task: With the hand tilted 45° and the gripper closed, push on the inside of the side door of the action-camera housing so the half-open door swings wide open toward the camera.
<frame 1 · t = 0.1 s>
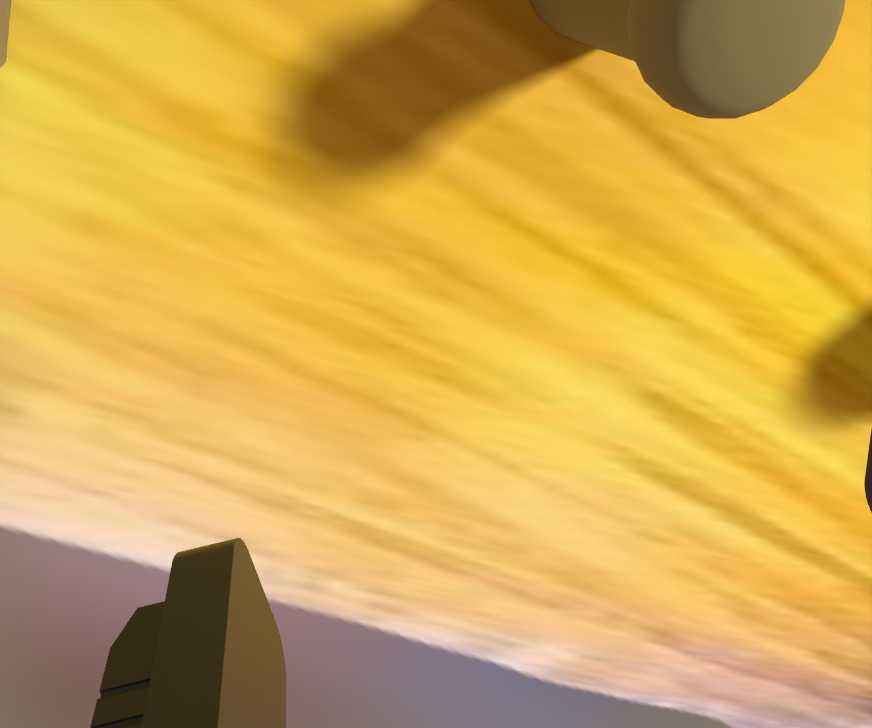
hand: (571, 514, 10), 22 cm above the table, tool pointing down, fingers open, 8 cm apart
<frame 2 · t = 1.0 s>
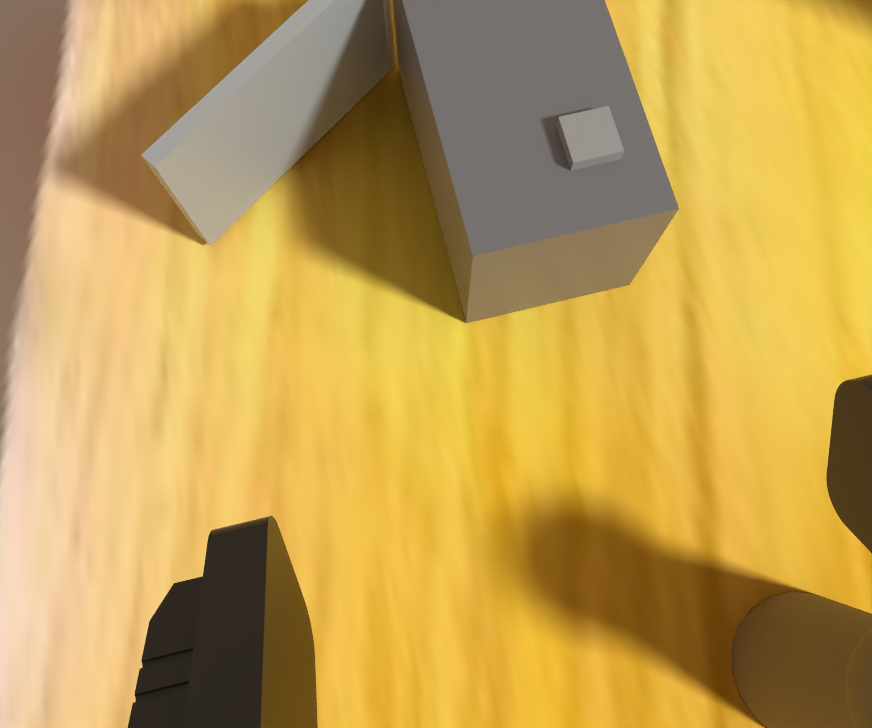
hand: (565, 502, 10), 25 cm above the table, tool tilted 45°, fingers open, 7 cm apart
camera housing: (509, 173, 39), on the table
cork: (802, 665, 33), on the table
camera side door: (282, 98, 35), point 4 cm above the table, hinge at 55.0°
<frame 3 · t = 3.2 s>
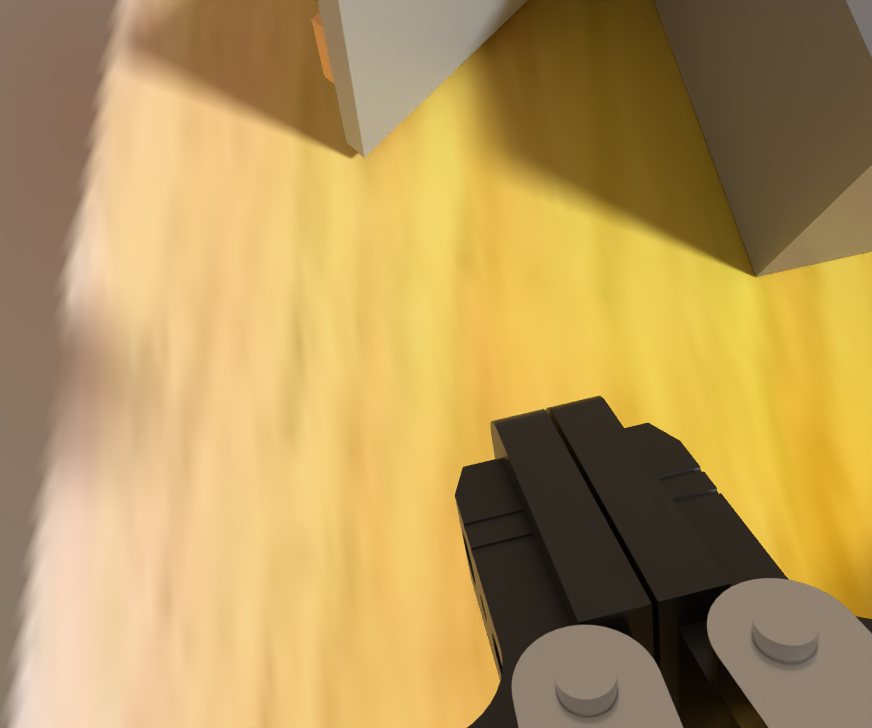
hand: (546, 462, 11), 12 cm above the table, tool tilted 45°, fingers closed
camera housing: (799, 62, 26), on the table
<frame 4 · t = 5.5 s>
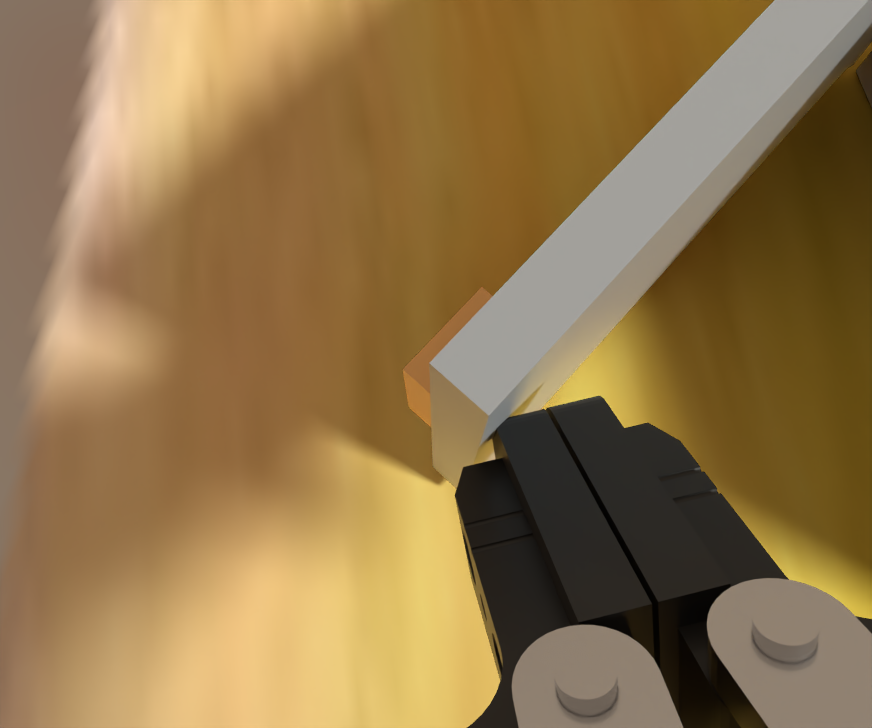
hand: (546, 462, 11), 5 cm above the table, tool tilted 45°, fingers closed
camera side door: (713, 134, 13), point 4 cm above the table, hinge at 55.4°, touching gripper
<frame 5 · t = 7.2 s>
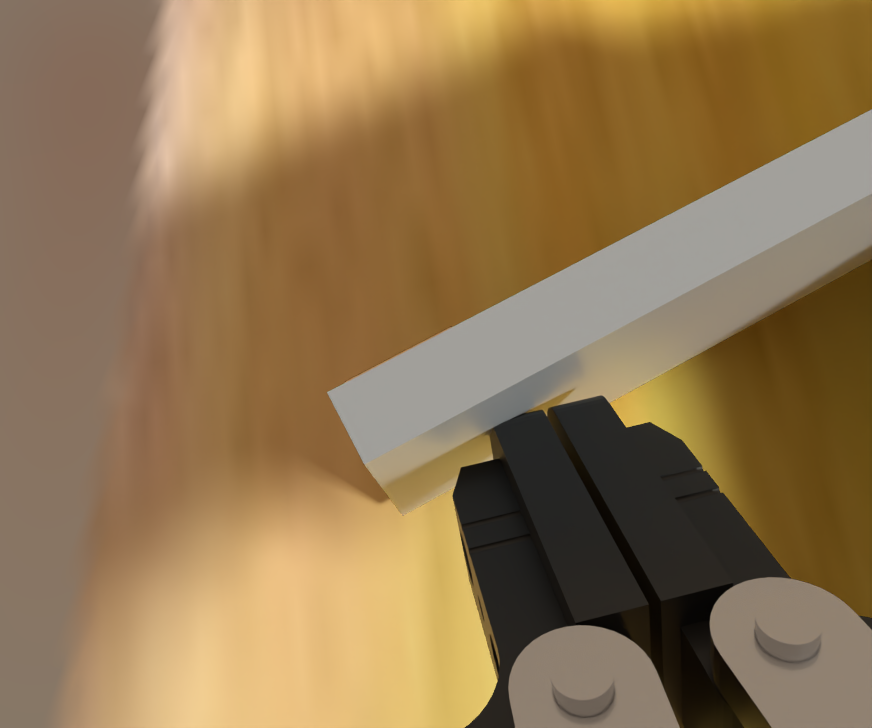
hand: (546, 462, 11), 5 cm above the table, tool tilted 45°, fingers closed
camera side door: (757, 245, 12), point 4 cm above the table, hinge at 74.1°, touching gripper
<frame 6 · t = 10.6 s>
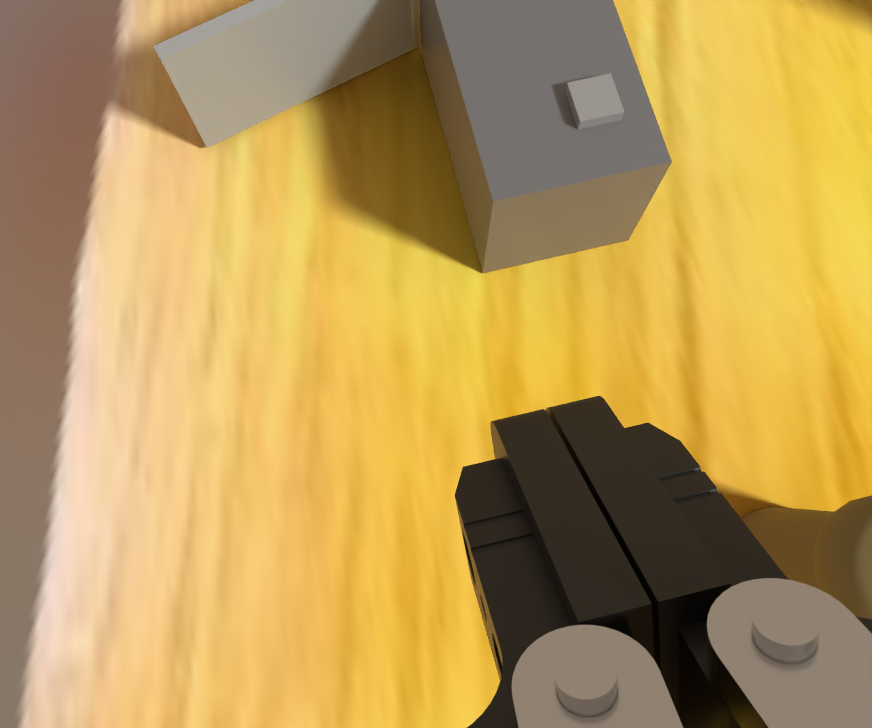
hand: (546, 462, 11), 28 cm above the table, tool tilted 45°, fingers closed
camera housing: (520, 142, 43), on the table
cork: (781, 571, 37), on the table
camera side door: (299, 40, 40), point 4 cm above the table, hinge at 74.4°
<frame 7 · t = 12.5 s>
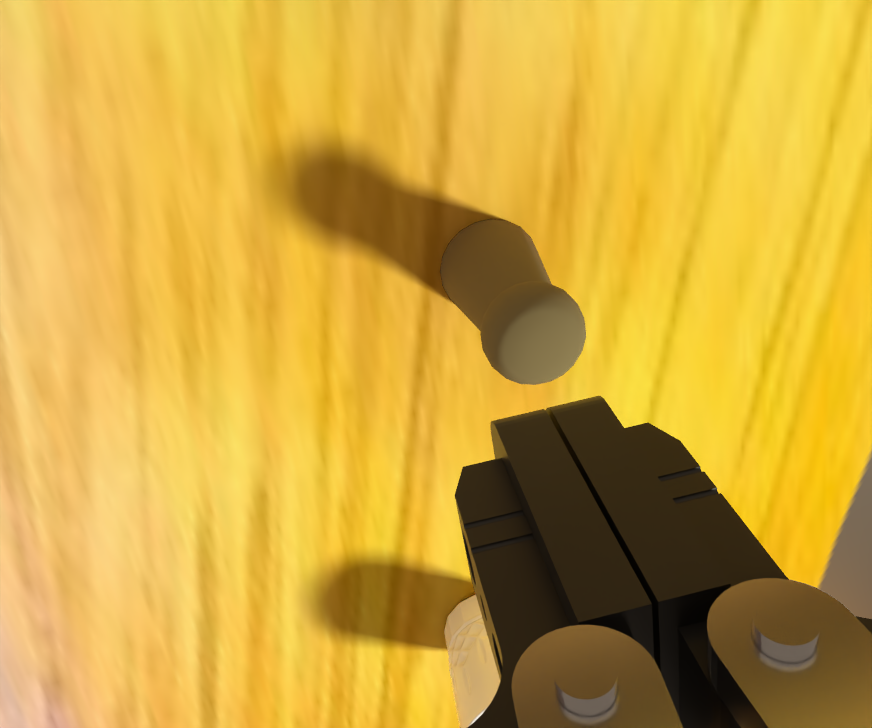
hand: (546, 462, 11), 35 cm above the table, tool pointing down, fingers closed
white cup: (485, 620, 61), on the table
cork: (488, 266, 47), on the table
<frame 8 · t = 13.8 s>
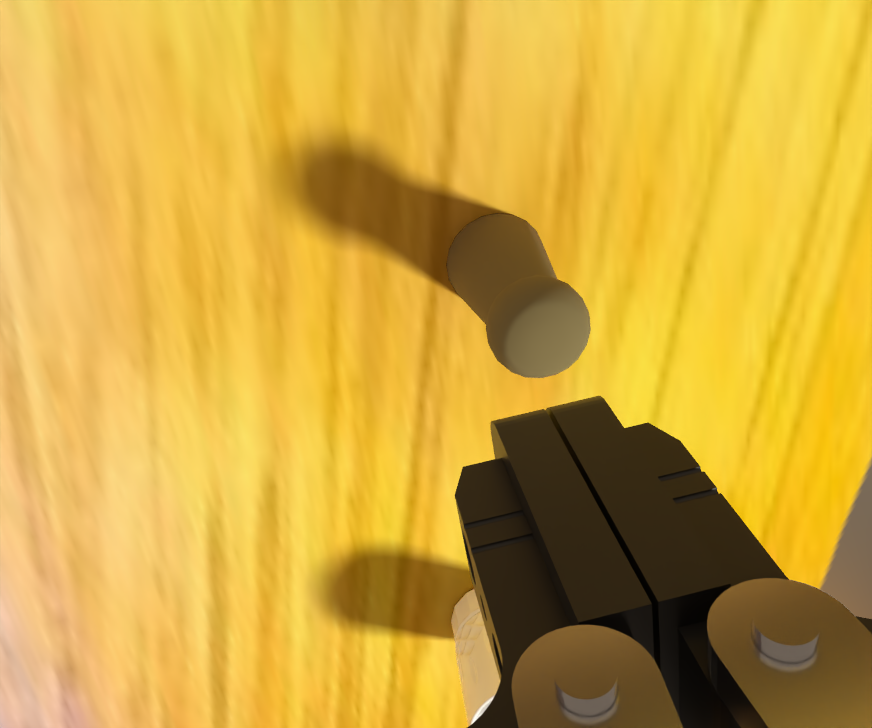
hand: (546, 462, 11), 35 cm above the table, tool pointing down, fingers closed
white cup: (492, 610, 62), on the table
cork: (495, 260, 48), on the table
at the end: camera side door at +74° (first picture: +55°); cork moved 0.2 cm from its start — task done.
